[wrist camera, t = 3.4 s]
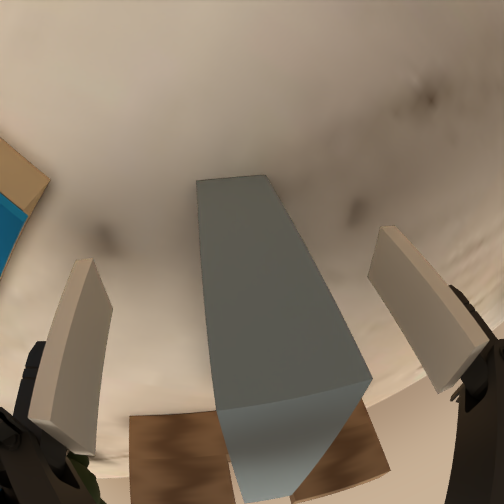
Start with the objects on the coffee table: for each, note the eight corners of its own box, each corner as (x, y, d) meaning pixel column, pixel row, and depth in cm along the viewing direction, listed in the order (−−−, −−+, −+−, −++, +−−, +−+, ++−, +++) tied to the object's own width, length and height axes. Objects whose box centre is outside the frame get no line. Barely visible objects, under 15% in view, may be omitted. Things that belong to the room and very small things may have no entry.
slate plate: (196, 181, 13) (216, 411, 5) (265, 175, 13) (373, 378, 5) (223, 380, 22) (244, 503, 14) (261, 375, 23) (291, 495, 15)
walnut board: (355, 383, 27) (390, 470, 19) (348, 397, 29) (379, 477, 21) (129, 416, 24) (131, 513, 16) (139, 427, 26) (143, 516, 18)
